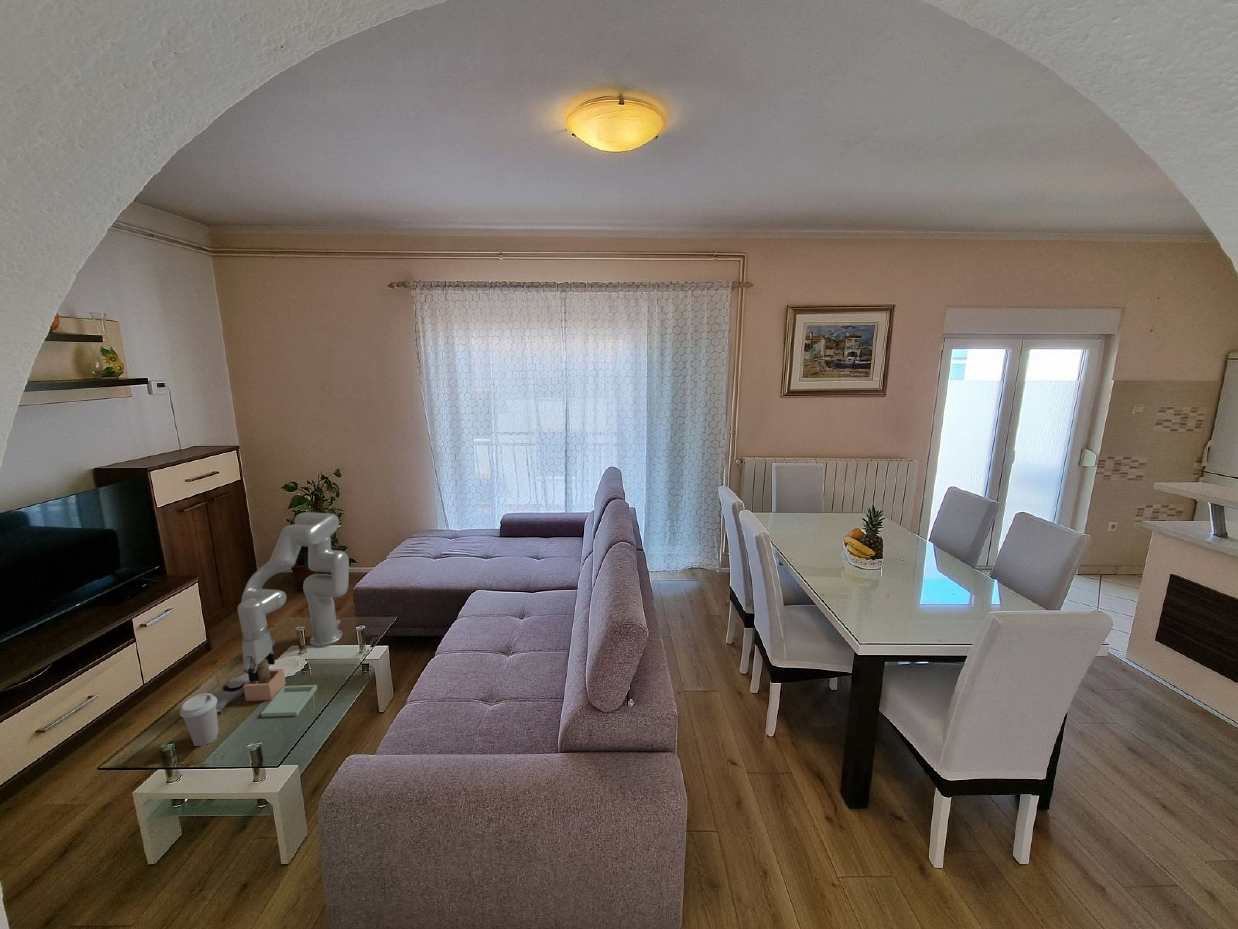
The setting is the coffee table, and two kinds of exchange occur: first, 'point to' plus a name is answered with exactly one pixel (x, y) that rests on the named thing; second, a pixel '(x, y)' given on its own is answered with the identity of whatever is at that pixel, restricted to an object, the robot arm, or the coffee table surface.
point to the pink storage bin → (265, 687)
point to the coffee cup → (201, 718)
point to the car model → (231, 692)
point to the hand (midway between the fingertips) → (262, 672)
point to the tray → (289, 701)
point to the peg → (263, 672)
